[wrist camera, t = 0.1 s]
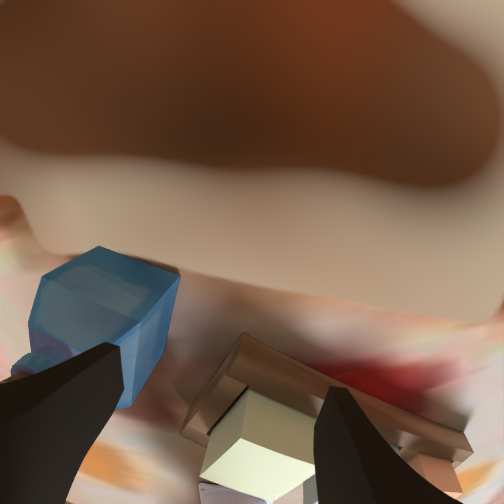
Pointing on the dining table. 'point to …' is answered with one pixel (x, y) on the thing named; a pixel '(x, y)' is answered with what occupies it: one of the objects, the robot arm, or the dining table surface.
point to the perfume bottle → (101, 315)
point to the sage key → (261, 447)
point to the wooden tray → (311, 402)
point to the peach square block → (437, 472)
